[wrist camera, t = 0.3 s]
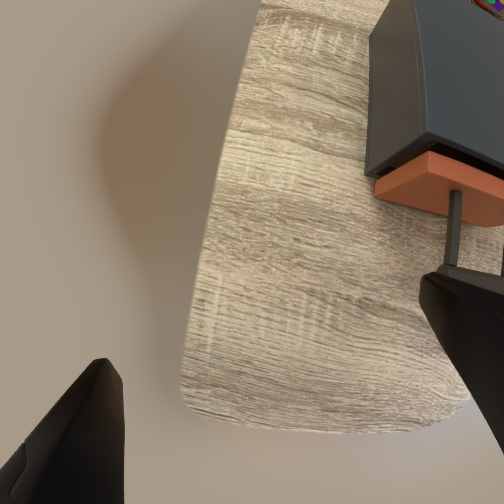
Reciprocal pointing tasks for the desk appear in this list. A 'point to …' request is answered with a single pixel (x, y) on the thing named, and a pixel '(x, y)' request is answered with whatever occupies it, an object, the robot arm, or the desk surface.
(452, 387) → the desk surface
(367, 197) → the desk surface
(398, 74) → the cabinet
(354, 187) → the desk surface
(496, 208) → the drawer
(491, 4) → the toy robot
